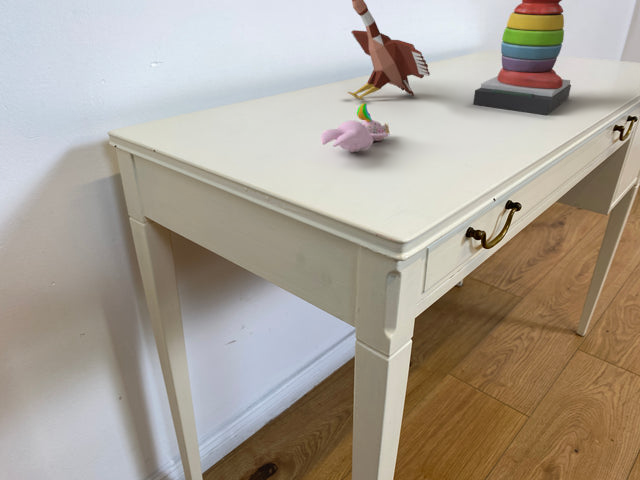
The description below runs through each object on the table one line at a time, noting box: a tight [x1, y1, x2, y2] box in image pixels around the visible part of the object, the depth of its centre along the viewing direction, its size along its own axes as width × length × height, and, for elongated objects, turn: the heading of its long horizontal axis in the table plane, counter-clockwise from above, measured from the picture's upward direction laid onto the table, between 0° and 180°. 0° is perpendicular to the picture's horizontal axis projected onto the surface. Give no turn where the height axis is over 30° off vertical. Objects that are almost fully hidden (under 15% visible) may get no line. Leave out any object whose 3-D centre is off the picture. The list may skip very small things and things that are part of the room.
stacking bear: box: [496, 0, 565, 89], centre depth 82 cm, size 11×10×18 cm
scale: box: [472, 75, 572, 116], centre depth 86 cm, size 14×12×3 cm
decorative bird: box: [347, 0, 431, 101], centre depth 86 cm, size 28×18×15 cm, turn 18°
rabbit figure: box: [320, 102, 391, 153], centre depth 63 cm, size 6×6×15 cm
